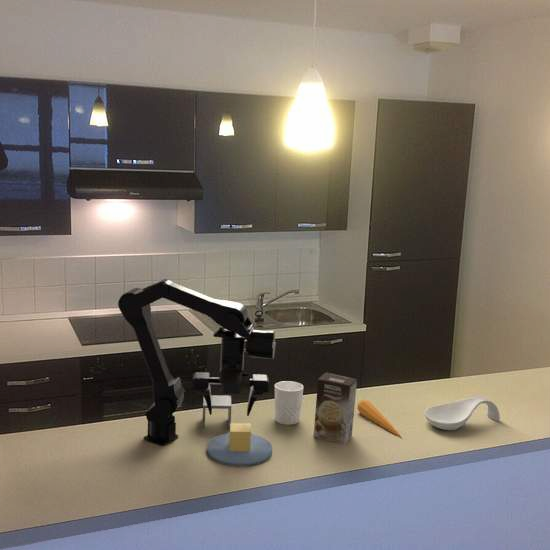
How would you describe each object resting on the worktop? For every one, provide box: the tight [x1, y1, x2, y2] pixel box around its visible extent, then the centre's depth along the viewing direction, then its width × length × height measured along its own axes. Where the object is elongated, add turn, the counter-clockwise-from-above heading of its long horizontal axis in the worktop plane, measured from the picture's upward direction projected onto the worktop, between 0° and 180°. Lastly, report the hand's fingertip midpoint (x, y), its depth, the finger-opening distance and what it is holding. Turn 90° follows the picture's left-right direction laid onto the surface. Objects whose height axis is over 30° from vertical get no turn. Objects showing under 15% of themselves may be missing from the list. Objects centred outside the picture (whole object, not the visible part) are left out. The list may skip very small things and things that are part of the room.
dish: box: [206, 432, 273, 467], centre depth 167 cm, size 16×16×1 cm
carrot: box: [357, 399, 403, 439], centre depth 188 cm, size 20×4×4 cm, turn 27°
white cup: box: [274, 380, 304, 426], centre depth 187 cm, size 8×8×10 cm
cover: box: [201, 394, 232, 430], centre depth 182 cm, size 7×7×7 cm
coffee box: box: [313, 372, 358, 445], centre depth 177 cm, size 9×6×16 cm
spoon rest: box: [424, 395, 501, 431], centre depth 192 cm, size 24×12×7 cm, turn 115°
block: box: [229, 422, 252, 451], centre depth 167 cm, size 5×5×5 cm
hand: (229, 414), depth 169 cm, fingers open, 9 cm apart
